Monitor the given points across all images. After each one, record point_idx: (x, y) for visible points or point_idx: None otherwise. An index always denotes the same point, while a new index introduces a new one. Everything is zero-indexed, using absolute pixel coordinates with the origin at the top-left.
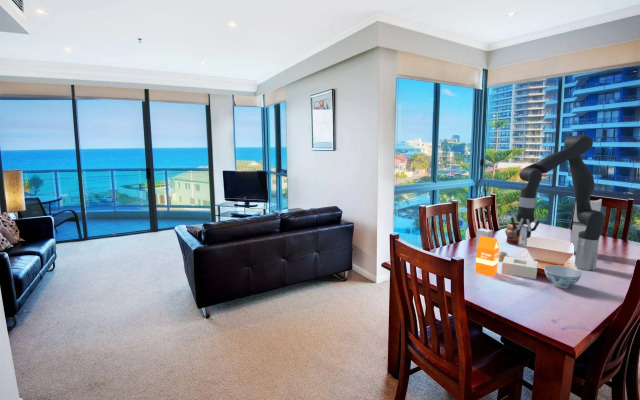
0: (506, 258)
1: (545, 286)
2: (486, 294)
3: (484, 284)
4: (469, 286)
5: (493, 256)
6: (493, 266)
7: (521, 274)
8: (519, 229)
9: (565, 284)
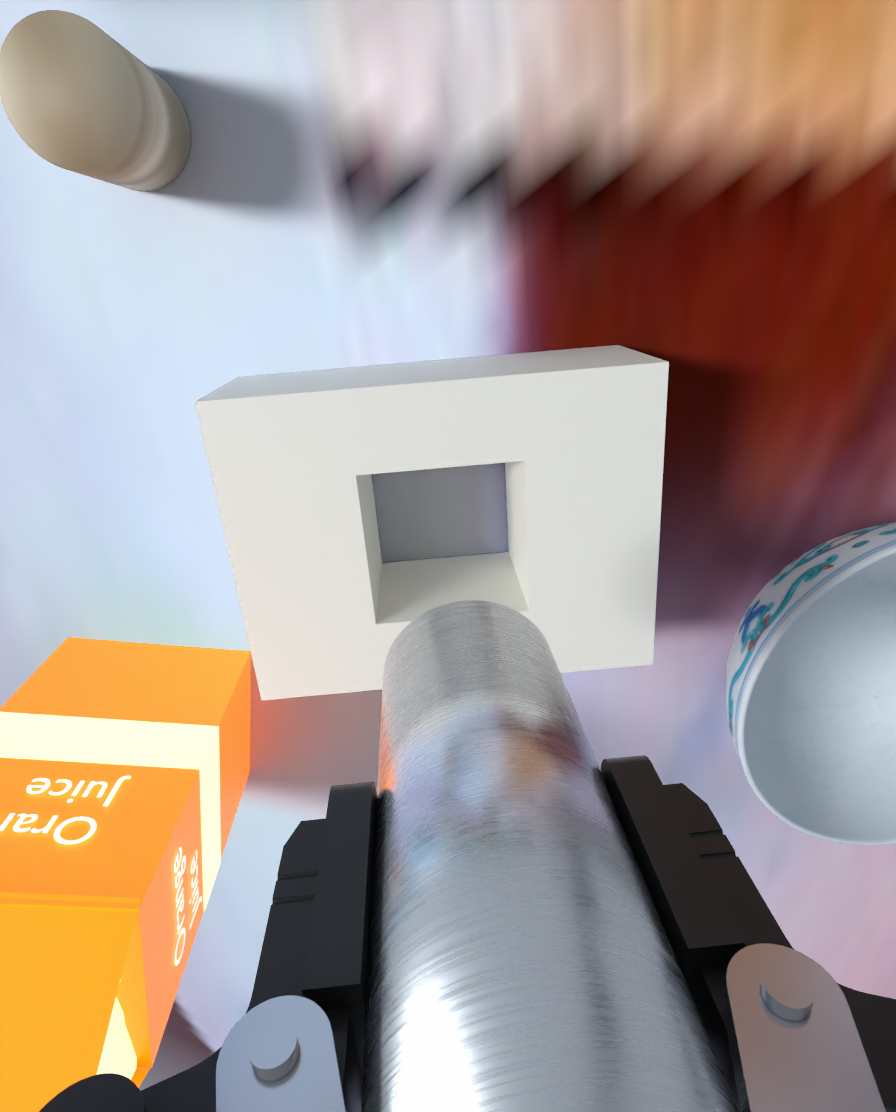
0: (252, 511)
1: (689, 713)
2: None
3: (262, 937)
4: (192, 1016)
5: (180, 974)
6: (223, 835)
7: None
8: (351, 1032)
9: (867, 737)
